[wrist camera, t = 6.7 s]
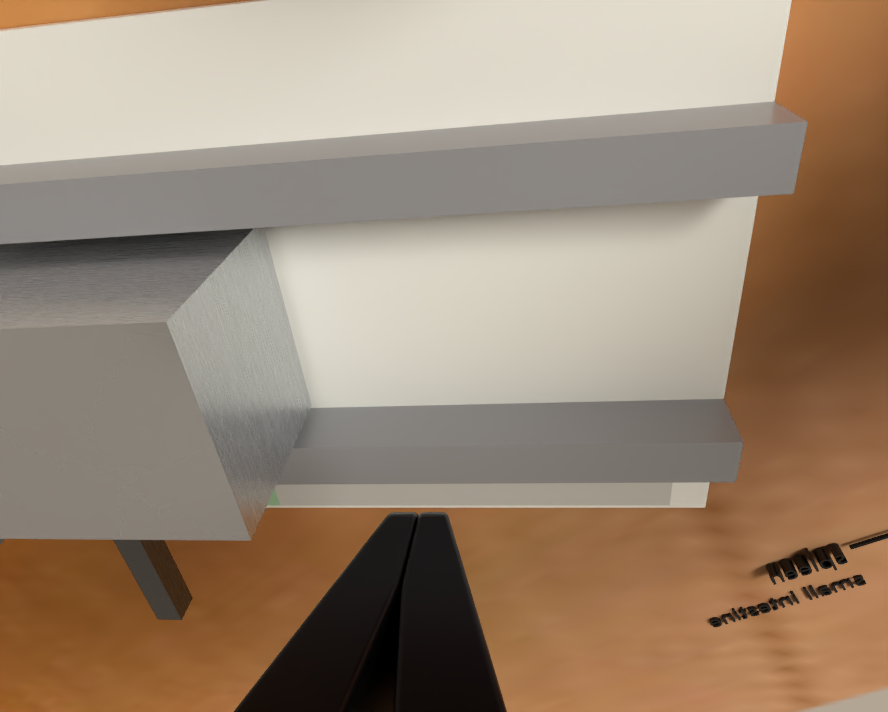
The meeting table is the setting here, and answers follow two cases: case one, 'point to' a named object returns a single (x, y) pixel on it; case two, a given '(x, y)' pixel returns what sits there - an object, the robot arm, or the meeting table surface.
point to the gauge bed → (443, 220)
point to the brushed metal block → (144, 394)
